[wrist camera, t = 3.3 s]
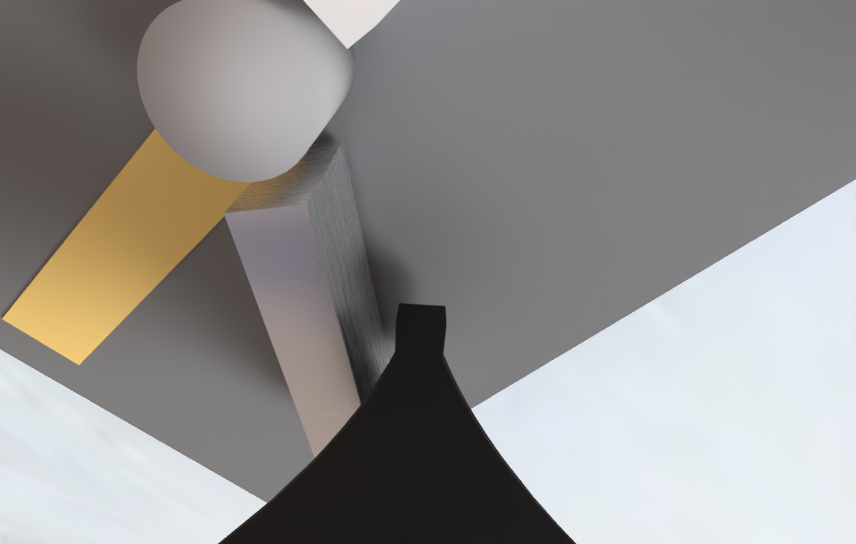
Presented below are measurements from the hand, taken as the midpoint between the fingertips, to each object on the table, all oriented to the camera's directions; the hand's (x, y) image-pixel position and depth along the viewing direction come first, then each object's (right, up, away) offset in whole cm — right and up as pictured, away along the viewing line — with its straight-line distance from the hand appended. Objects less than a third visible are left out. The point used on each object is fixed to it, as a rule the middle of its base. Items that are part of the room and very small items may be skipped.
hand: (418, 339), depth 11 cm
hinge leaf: (-2, +1, 0) cm, 2 cm away
